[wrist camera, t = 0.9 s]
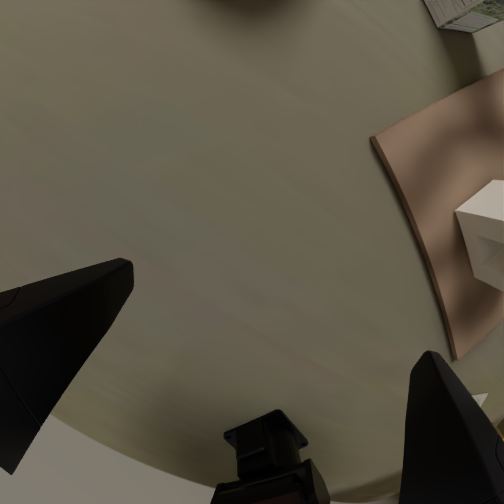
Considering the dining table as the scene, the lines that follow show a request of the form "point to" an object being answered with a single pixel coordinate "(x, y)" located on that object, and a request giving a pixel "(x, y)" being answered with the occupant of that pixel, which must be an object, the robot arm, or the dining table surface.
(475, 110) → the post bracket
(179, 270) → the dining table surface
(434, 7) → the syrup box
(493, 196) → the white box with window
